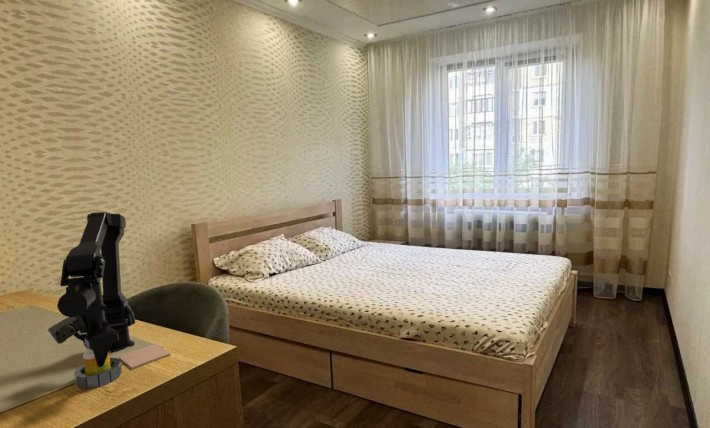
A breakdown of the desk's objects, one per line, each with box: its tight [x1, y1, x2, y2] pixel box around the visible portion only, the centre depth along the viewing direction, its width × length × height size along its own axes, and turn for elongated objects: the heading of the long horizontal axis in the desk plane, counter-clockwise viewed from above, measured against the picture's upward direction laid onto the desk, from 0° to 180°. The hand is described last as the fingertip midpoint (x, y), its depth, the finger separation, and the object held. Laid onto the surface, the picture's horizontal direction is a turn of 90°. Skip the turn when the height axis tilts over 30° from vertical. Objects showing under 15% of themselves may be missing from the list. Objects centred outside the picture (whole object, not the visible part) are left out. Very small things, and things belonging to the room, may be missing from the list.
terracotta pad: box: [118, 343, 172, 370], centre depth 113 cm, size 10×10×1 cm
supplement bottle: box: [82, 343, 111, 375], centre depth 102 cm, size 5×5×10 cm
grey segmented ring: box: [73, 357, 123, 390], centre depth 102 cm, size 10×10×3 cm
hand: (97, 363), depth 102 cm, fingers closed on supplement bottle, 5 cm apart
